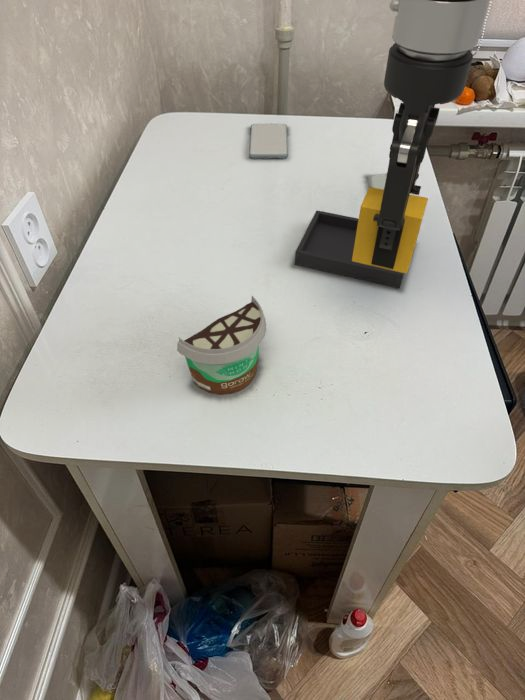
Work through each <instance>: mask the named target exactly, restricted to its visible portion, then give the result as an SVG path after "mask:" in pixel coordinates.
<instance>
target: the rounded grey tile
mask: <svg viewBox="0 0 525 700" xmlns="http://www.w3.org/2000/svg"><path fill="white" fill-rule="evenodd" d="M249 134H250V135H249V148H248V149H249V151H248V156H249V157H250V158H256V159H257V158H261V159H262V158H264V159H265V158H267V159H268V158H269V159H271V158H273V159H274V158H280V159H281V158H283V159H284V158H287V157H288V156H289V142H288V141H289V140H288V126H287V124H286V123H252V124H251V125H250V133H249Z"/></svg>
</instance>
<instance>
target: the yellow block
mask: <svg viewBox="0 0 525 700" xmlns="http://www.w3.org/2000/svg"><path fill="white" fill-rule="evenodd" d="M383 193H384V189H379V188H373V187H369V186H368V189H367V191H366V193H365V196H364V198H363V200H362V202H361V204H360V208H359V214H358V219H359V220H358V226H357V232H356V238H355V244H354V250H353V256H352V261H353V262H358V263H362V264H366V265H371V266H375V267H380V268H384V269H388V270H393V271H397V272H402V273H404V274H408V272H409V269H410V265H411V262H412V259H413V255H414V251H415V248H416V244H417V241H418V237H419V233H420V229H421V226H422V223H423V218H424V216H425V215H424V214H425V211H426V208H427V204H428V200H429V198H428V197H426V196H420V195H416V194H410V195H409V199H408V203H407V207H406V211H405V215H404V219H405V222H404V227H403V231H402V235H401V239H400V243H399V248H398V252H397V256H396V260H395V265H394V268H393V269H391V268H386V267H382V266H377V265H373V264H371V263H372V258H373V252H374V247H375V242H376V237H377V232H378V226H377V222H376V221H373V218H374V216H375V214H380V209H381V203H382V198H383Z"/></svg>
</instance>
